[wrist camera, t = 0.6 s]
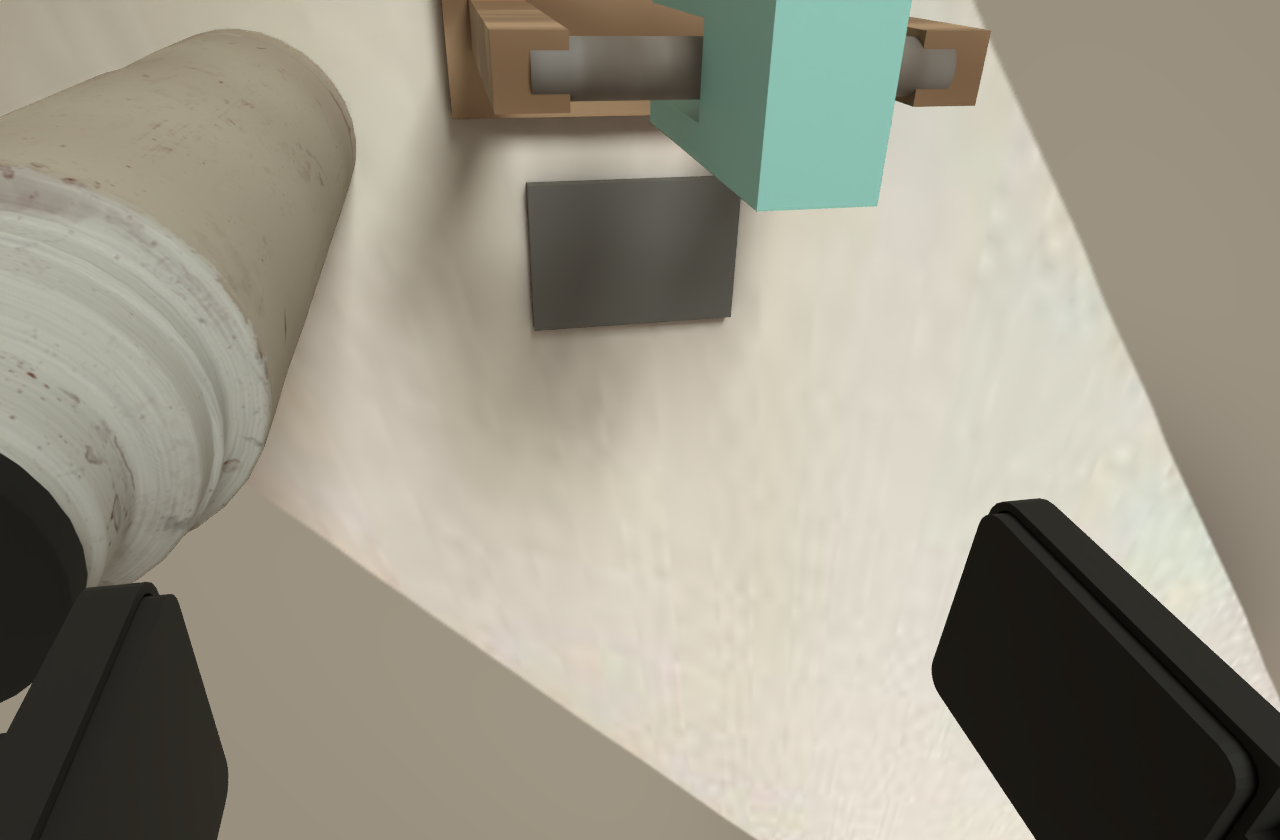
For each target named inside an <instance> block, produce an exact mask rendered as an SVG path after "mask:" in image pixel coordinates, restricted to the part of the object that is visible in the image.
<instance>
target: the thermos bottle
mask: <svg viewBox="0 0 1280 840" xmlns="http://www.w3.org/2000/svg"><path fill="white" fill-rule="evenodd" d="M355 160H356V139H355V134H354V128H353V123H352V119H351V117H350V114H349V112H348V109H347V106H346V104H345V101H344V100H343V98H342V97H341V95H340V93H339V92H338V90H337V88H336V87H335V85H334V83H333V82H332V81H331V80H330V79H329V78H328V76H327V75H326V74H325V73H324V72H323V71H322V69H321V68H320V67H319V66H318V65H316V64H315V63H314V62H313V61H312V60H310V59H309V58H308V57H307V56H306V55H304V54H303V53H302V52H300V51H299V50H297V49H295V48H293V47H292V46H290V45H288V44H286V43H285V42H283V41H281V40H278V39H276V38H273V37H270V36H267V35H265V34H262V33H258V32H252V31H246V30H240V29H227V30H213V31H209V32H205V33H201V34H197V35H194V36H192V37H189V38H187V39H184V40H182V41H180V42H177V43H175V44H173V45H170V46H168V47H165V48H163V49H161V50H158V51H156V52H154V53H152V54H150V55H148V56H146V57H144V58H142V59H140V60H138V61H136V62H134V63H132V64H130V65H128V66H126V67H124V68H123V69H119V70H115V71H111V72H108V73H105V74H102V75H99V76H97V77H94V78H92V79H89V80H87V81H85V82H82V83H80V84H78V85H75V86H73V87H70V88H68V89H66V90H63V91H61V92H59V93H56V94H54V95H52V96H49V97H47V98H44V99H42V100H40V101H37V102H35V103H33V104H30V105H28V106H25V107H23V108H21V109H18V110H16V111H14V112H11V113H9V114H6V115H4V116H2V117H0V703H1V702H3V701H5V700H7V699H9V698H11V697H13V696H15V695H17V694H18V693H19V692H21V691H22V690H23V689H25V688H26V687H27V686H29V685H30V684H31V683H33V681H34V679H35V677H36V675H37V673H38V672H39V670H40V668H41V666H42V664H43V662H44V660H45V658H46V656H47V654H48V652H49V650H50V649H51V647H52V645H53V643H54V641H55V639H56V637H57V635H58V633H59V631H60V629H61V627H62V626H63V624H64V622H65V620H66V618H67V616H68V614H69V612H70V610H71V608H72V606H73V604H74V603H75V601H76V599H77V597H78V596H79V595H80V593H81V592H82V591H83V590H85V589H86V588H89V587H99V586H110V585H121V584H130V583H132V582H134V581H136V580H138V579H139V578H140V577H142V576H143V575H144V574H146V573H147V572H148V571H150V570H151V569H152V568H154V567H155V566H156V565H157V564H159V563H160V562H161V561H163V560H164V559H165V558H166V557H167V555H168V554H169V553H170V552H171V551H172V549H173V548H174V547H175V546H176V545H177V543H178V542H179V541H180V540H181V539H182V537H183V536H184V535H186V533H187V532H189V531H191V530H193V529H195V528H197V527H198V526H200V525H201V524H202V523H204V522H205V521H206V520H208V519H209V518H210V517H211V516H213V515H214V514H216V513H217V512H218V511H220V510H221V509H222V508H223V507H225V506H226V505H227V504H228V502H229V501H230V500H231V499H232V498H233V496H234V495H235V494H236V493H237V492H238V490H239V489H240V488H241V487H242V486H243V485H244V483H245V482H246V481H247V480H248V478H249V476H250V474H251V472H252V470H253V468H254V466H255V464H256V462H257V460H258V458H259V456H260V454H261V452H262V450H263V448H264V446H265V443H266V440H267V437H268V434H269V431H270V428H271V424H272V421H273V418H274V415H275V412H276V408H277V405H278V402H279V398H280V395H281V391H282V387H283V384H284V381H285V377H286V374H287V371H288V368H289V365H290V362H291V359H292V356H293V354H294V351H295V348H296V345H297V343H298V340H299V337H300V334H301V331H302V329H303V326H304V323H305V320H306V317H307V313H308V310H309V307H310V304H311V301H312V298H313V295H314V292H315V289H316V286H317V283H318V280H319V276H320V273H321V270H322V267H323V264H324V261H325V258H326V255H327V252H328V249H329V246H330V243H331V239H332V236H333V233H334V230H335V227H336V224H337V221H338V218H339V215H340V212H341V209H342V205H343V202H344V199H345V196H346V193H347V190H348V187H349V184H350V181H351V177H352V173H353V169H354V164H355Z"/></svg>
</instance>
